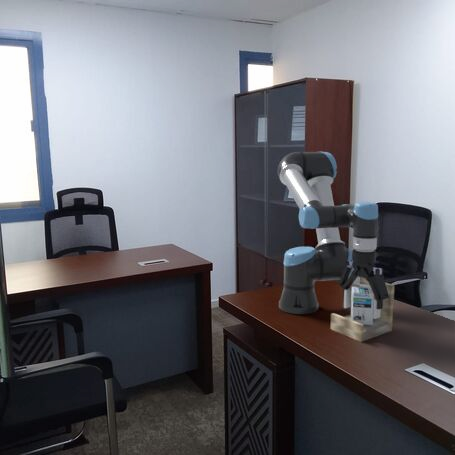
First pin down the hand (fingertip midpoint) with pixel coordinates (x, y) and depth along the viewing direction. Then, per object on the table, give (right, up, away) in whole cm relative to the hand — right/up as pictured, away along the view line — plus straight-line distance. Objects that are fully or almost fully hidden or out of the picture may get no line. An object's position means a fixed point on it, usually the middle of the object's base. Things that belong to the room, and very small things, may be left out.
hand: (361, 312), depth 155 cm
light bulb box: (0, -2, 0) cm, 3 cm away
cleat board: (0, -6, +1) cm, 6 cm away
